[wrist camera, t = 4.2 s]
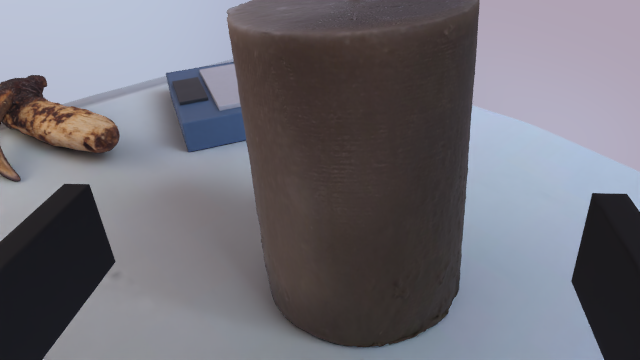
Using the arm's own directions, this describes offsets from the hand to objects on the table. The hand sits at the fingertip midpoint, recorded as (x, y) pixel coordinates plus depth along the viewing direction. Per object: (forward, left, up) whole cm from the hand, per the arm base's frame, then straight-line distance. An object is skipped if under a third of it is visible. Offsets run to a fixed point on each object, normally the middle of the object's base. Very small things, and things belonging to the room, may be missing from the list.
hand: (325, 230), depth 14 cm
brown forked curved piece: (+14, -34, -10) cm, 38 cm away
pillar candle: (-4, -8, -10) cm, 14 cm away
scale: (-5, -34, -10) cm, 36 cm away
